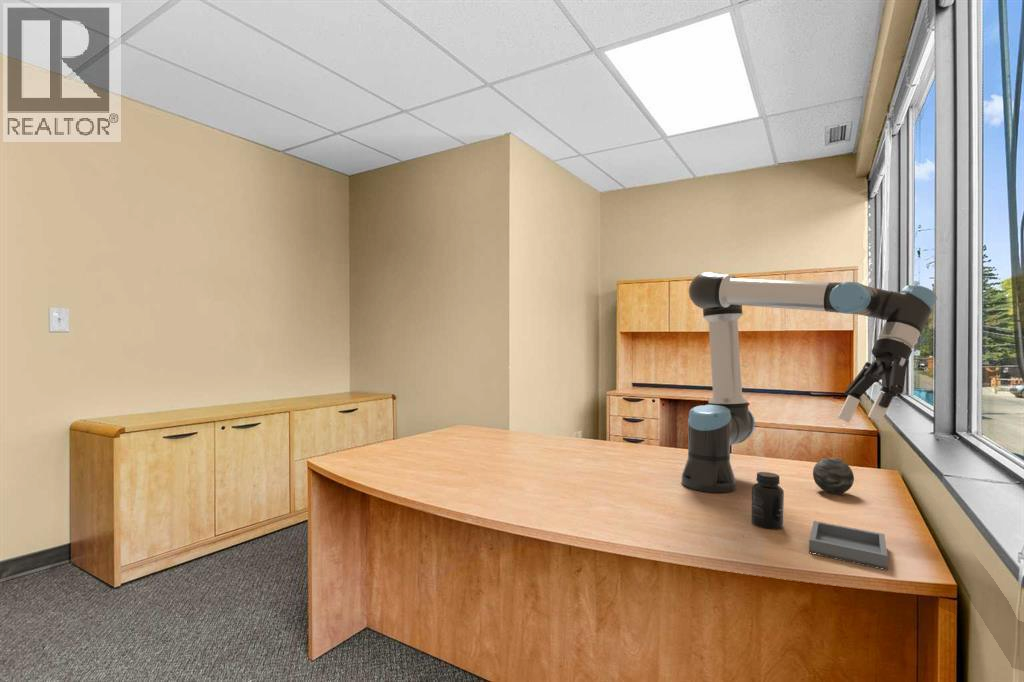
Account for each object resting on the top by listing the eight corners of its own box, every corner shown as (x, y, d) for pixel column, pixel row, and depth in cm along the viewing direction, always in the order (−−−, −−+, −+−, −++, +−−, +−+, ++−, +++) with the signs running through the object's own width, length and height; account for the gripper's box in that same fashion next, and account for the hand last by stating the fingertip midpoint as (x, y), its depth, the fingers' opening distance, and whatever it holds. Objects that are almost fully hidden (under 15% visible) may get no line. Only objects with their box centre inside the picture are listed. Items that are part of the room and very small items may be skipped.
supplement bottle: (787, 531, 116) (788, 479, 115) (755, 528, 117) (756, 477, 117) (777, 520, 122) (778, 471, 122) (747, 518, 124) (748, 469, 124)
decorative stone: (840, 488, 149) (841, 454, 149) (861, 499, 139) (862, 463, 139) (805, 487, 150) (806, 453, 149) (824, 498, 140) (825, 462, 139)
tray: (809, 553, 104) (809, 539, 104) (813, 532, 115) (813, 520, 115) (887, 570, 97) (887, 555, 97) (884, 547, 107) (884, 534, 107)
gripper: (946, 343, 112) (906, 427, 110) (879, 358, 136) (845, 426, 134) (912, 327, 113) (872, 410, 111) (852, 345, 137) (818, 413, 136)
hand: (857, 419), depth 123 cm, fingers open, 13 cm apart
